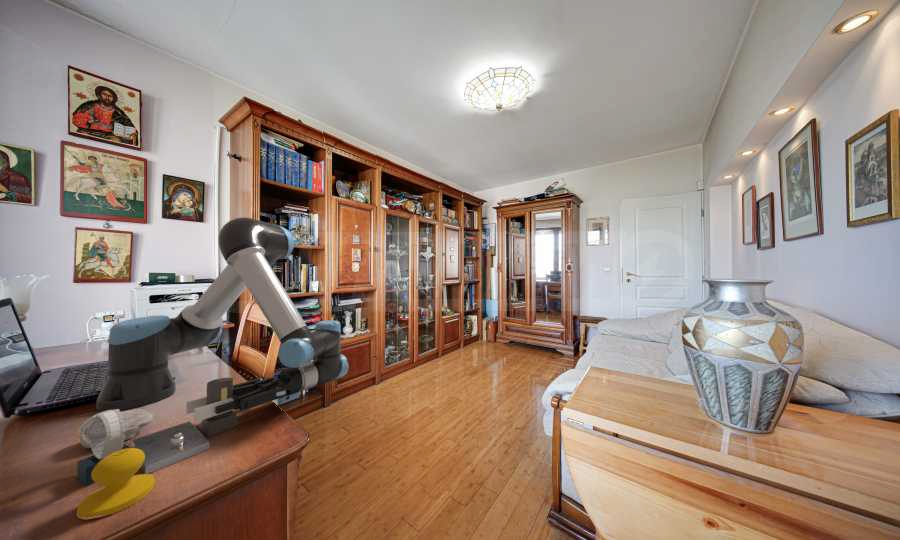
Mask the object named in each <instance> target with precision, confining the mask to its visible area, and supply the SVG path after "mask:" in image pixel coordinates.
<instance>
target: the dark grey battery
mask: <svg viewBox="0 0 900 540" xmlns="http://www.w3.org/2000/svg"><path fill="white" fill-rule="evenodd" d="M233 385H234V378H233V377H221V378H216V379H213V380H210V381H208V382H207V383H206V396H207V401H206V405H209V404H212V403H215V402H219V401H222V400H225V399H229V398H232V401H233ZM237 421H238V413H237V412H236V411H235V410H233V409H232V410H231V411H228V412H225V413H222V414H219V415H216V416H213V417H210V418H207V419H204V420H201V430H202V432H204V433H205V435H207V436H208V437H211V436H214V435H216V434H219V433H222V432H225V431H227V430H230V429H233V428H234V427H237V425H238V423H237Z"/></svg>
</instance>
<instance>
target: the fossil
mask: <svg viewBox="0 0 900 540" xmlns="http://www.w3.org/2000/svg"><path fill="white" fill-rule="evenodd" d="M121 413H122V417H123V424H124V435H125V438H124V442H125V441H127V440H130V439H131V440H132V439H133V438H135V437H136V436H137V435H138V433H139V431H140V430H141V429H143V428H144V427H147V426H148V425H149V424H151V422H152V421H153V418H154V415H155V413H154V412H152V411H151V412H150V411H147V410H145V409H143V408H135V409H133V408H132V409H131V410H130V409H128V410H124V411H121ZM79 441H80V444H81V446H82V447H83V448H85V449H92V448H91V445H90V441H87V440H86V438H85V436H84V435H83V433H82V432H81V434H80V436H79ZM104 441H105V440H104ZM101 442H102V441H101Z"/></svg>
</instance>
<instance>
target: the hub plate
mask: <svg viewBox="0 0 900 540" xmlns="http://www.w3.org/2000/svg"><path fill="white" fill-rule="evenodd" d="M131 448H137V449H140V450H142V451H143V452H144V454H145V460H144V462H143V464H142V466H141V467H140V468H141V469H142V471H143V474H151V473H154V472H156V471H158V470H161V469H164V468H165V467H168V466H170V465H173V464H176V463H178V462H180V461H183V460H185V459H188V458H190V457H193V456H194V455H195V456H196V455H197V454H200V453H203V452H205V451H207V450H210V441H209V440H208V439H207V438H206V437H205V436H204V434H203V433H201V431H200V430H199V429H198V428H197V427H196V426H195V425H194V424H193V423H192V422H191V421H190V420H189V421H186V422H183V423H180V424H176V425H174V426H171V427H167V428H165V429H162V430H158V431H156V432H152V433H150V434H147V435H143V436H140V437H137V438H134V439H131Z"/></svg>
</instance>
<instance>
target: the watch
mask: <svg viewBox="0 0 900 540" xmlns="http://www.w3.org/2000/svg"><path fill="white" fill-rule="evenodd" d="M121 412H122V411H121V410H119V409H116V410H108V411H100V412H98V413H96V414H94V415H92V416H91V417H89V418H87V419H85V421H84V422H83V423H82V424H81V426H80V427H79V428H77V431H76V433H77V434H80V433H81V434H82V433H83V435H84V436H85V438H86V440H87V441H90V445H91V448H90V449H91V452H92V454H93V455H90V456H87V457H86V458H83V459H81V460H78V461H77V470H76V472H77V473H76V479H77V481H79V482H80V483H81V484H82V485H83V486H84V487H88V486H91V485H93V484H96V482H94V481H93V479H92V477H91V473H92V471H93V469H94V467H95V466H96V465H97V464H98V463H99V462H100V461H101V460H102V459H103V458H105V457H106V456H108V455H110V454H112V453H114V452H116V451H119V450H123V449H127V448H131V447H130V446H129V445H127V444H125V443H124V442H125V441H124V438H125V435H124V424H123V417H122V413H121ZM104 440H105V441H104ZM101 441H102V442H101Z"/></svg>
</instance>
